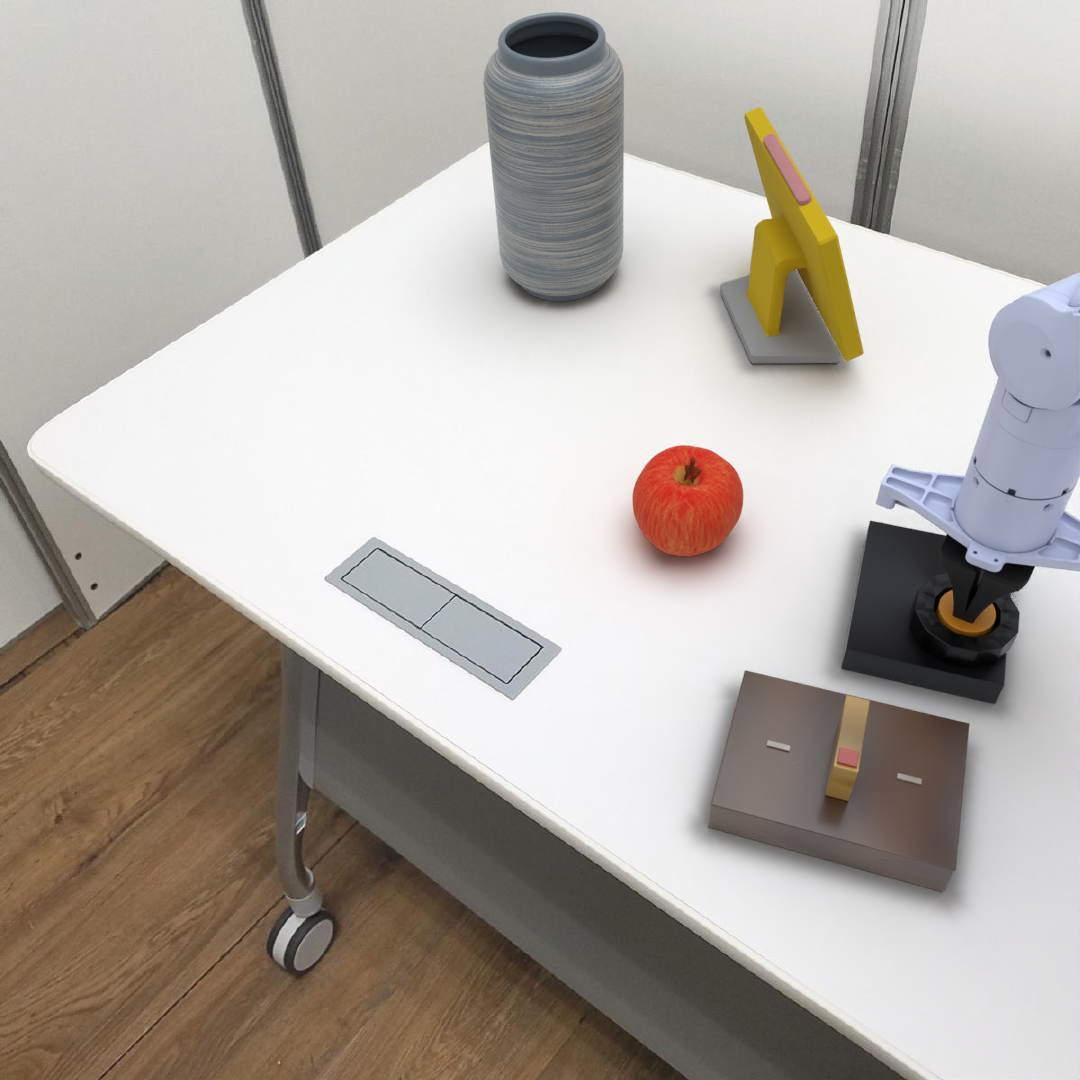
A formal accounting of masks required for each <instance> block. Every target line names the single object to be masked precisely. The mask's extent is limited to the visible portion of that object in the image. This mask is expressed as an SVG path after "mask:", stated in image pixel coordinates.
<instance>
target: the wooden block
mask: <svg viewBox="0 0 1080 1080" xmlns="http://www.w3.org/2000/svg"><path fill="white" fill-rule="evenodd" d="M849 695H850V694H847V695H846V698H845V701H844V705H843V708H842V712H841V715H840V719H839V722H838V726H837V731H836V736H835V742H834V747H833V753H832V758H831V764H830V769H829V775H828V780H827V786H826V791H825V795H827V796H831V797H834V798H838V799H842V800H846V801H849V799H850V796H851V793H852V790H853V787H854V784H855V781H856V778H857V775H858V772H859V765H860V759H861V753H862V747H863V741H864V735H865V729H866V723H867V717H868V711H869V705H870V701H869V700H870V699H868V700H866V699H867V698H864V699H861V698H862V697H860V698H857V697H858V696H856V697H853V696H854V695H851V696H849Z"/></svg>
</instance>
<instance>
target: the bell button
mask: <svg viewBox="0 0 1080 1080" xmlns="http://www.w3.org/2000/svg"><path fill="white" fill-rule="evenodd" d="M935 614H936V615H937V617H938V619H939V621H940V623H941V624H943V625H944V626H946V627H947V628H949V629H950V630H952V631H953V632H955V633H957V634H961V635H966V636H970V637H977V636H982V635H987V634H989V633H990V631H991V629H992V627H993V624H994V622H995V619H996V611H995V608H994V606H993V604H991V605H989V606H988V607H987V608H986V609H985V610H984V611H983V612H982V613H981V614H980V615H979V616H978V617H977V618H976V620H975V621H974V623H972V624H971V623H969V622H966V621H964V620H961V619H959V618H956V617H954V616H953V615H952V614H953V591H952V590H951V591H949V592H947V593H946V594H944V595H943V596H942V598H941V599H940V602H939V604H938V607H937V610H936V613H935Z"/></svg>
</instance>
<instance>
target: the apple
mask: <svg viewBox="0 0 1080 1080" xmlns="http://www.w3.org/2000/svg"><path fill="white" fill-rule="evenodd" d="M631 499H632V501H631V502H632V511H633V515H634V519H635V521H636V523H637V526H638V528H639V530H640V531H641V533H642V534H643V535H644V536H645V538H646V539H647V541H649V542H650V544H651V545H653V546H654V547H656V549H658V550H659V551H661V552H663V553H665V554H668V555H672V556H678V557H692V556H697V555H701V554H704V553H707V552H711V551H712V550H713V549H716V548H717V547H718V546H720V545H721V544H722V543H723V542H724V541H725V540H726V539H727V538H728V536H729V535H730V534H731V532H732V530H733V529H734V528H735V527H736V524H737V523H738V522H739V520H740V518H741V515H742V511H743V506H744V488H743V483H742V480H741V477H740V475H739V473H738V472H737V470H736V468H735V467H734V466H733V465H732V464H731V463H730V462H729V461H727V460H726V459H725V458H723V457H722V456H720V455H719V454H718V453H717V452H715V451H713V450H711V449H708V448H705V447H701V446H694V445H687V444H686V445H685V444H681V445H674V446H670V447H668V448H665V449H664V450H661V451H660V452H658V453H657V454H655V455H654V456H653V457H651V458H650V459H649V461H648V462H647V463H646V464H645V465H644V467H643V469H642V470H641V472H640V473H639V474H638V477H637V478H636V480H635V482H634V486H633V490H632V497H631Z"/></svg>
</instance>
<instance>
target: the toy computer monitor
mask: <svg viewBox="0 0 1080 1080" xmlns="http://www.w3.org/2000/svg"><path fill="white" fill-rule="evenodd" d="M743 119H744V122H745V126H746V129H747V133H748V137H749V140H750V144H751V148H752V151H753V155H754V159H755V162H756V165H757V170H758V173H759V175H760V176H759V177H760V180H761V184H762V188H763V190H764V191H763V192H764V194H765V199H766V202H767V205H768V209H769V212H770V216H771V218H764V219H762V220H761V221H759V222H758V223H757V224H756V225H755V227H754V232H753V241H752V249H751V260H750V269H749V275H746V276H743V277H739V278H735V279H733V280H728V281H725V282H722V283H721V284H720V286H719V287H720V288H719V294H720V295H721V298H722V300H723V303H724V304H725V307H726V309H727V312H728V314H729V316H730V318H731V320H732V323H733V324H734V327H735V329H736V332H737V334H738V336H739V339H740V341H741V343H742V346H743V348H744V350H745V353H746V354H747V357H748V359H749V361H750V363H751V364H838V363H839V362H840V359H841V356H842V358H843V359H844V360H845V361H846V362H849V361H852V360H854V359H856V358H859V357H861V356H863V355H864V353H865V352H864V348H863V343H862V338H861V334H860V330H859V329H860V328H859V325H858V321H857V316H856V311H855V307H854V303H853V298H852V293H851V289H850V285H849V280H848V276H847V271H846V267H845V262H844V257H843V253H842V248H841V243H840V240H839V235H838V233H837V232H836V230H835V229H834V227H833V225H832V223H831V222H830V220H829V218H828V217H827V215H826V213H825V212H824V210H823V209H822V206H821V205H820V203H819V201H818V200H817V198H816V197H815V195H814V193H813V191H812V190H811V188H810V186H809V184H808V183H807V181H806V180H805V178H804V176H803V175H802V173H801V172H800V170H799V168H798V166H797V165H796V163H795V162H794V160H793V158H792V156H791V155H790V153H789V152H788V150H787V148H786V147H785V145H784V143H783V141H782V140H781V138H780V136H779V135H778V132H777V131H776V129H775V128H774V125H773V124H772V123H771V121H770V119H769V117H768V116H767V114H766V113H765V111H764V109H763V108H762V107H761V106H758V107H756V108H754V109H751V110H749V111H747V112H745V113H744V117H743Z"/></svg>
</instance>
